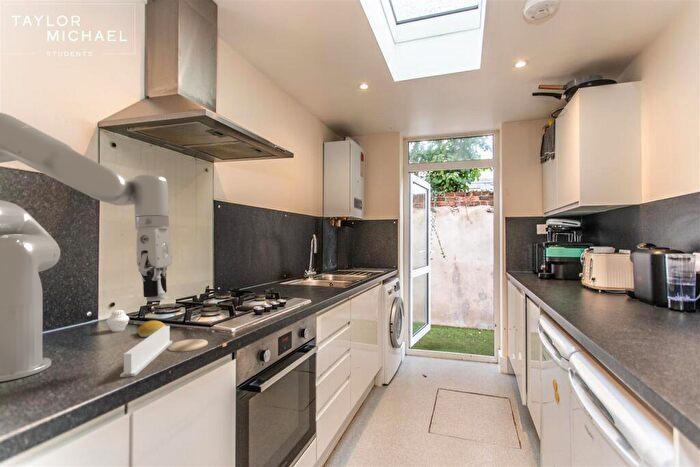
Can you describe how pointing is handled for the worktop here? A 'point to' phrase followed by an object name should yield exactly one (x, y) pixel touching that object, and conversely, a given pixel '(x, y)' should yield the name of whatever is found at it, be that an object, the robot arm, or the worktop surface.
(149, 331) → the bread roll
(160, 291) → the rook chess piece
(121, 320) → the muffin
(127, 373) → the divider wall
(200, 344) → the cork coaster
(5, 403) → the worktop surface
